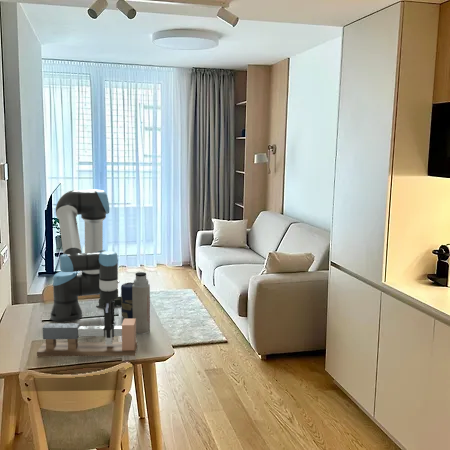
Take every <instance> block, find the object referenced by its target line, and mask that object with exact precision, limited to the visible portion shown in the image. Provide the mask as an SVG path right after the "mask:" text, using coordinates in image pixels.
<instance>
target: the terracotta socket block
mask: <svg viewBox="0 0 450 450" xmlns="http://www.w3.org/2000/svg"><path fill="white" fill-rule="evenodd" d="M121 326H122V336H121V342H122V350H134V349H135V345H136V342H137V334H136V318H135V319H126V318H123V320H122V324H121Z"/></svg>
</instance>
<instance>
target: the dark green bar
mask: <svg viewBox="0 0 450 450" xmlns="http://www.w3.org/2000/svg"><path fill="white" fill-rule="evenodd" d="M114 300H115V301H114V302H115V304H114V307H119V306H120V307H121V296H118V298H116V299H114ZM104 303H105V300H102V299H101V298H100V297H99V299H98V305H96V306H95V307H96V308H100V307H101V308H104Z"/></svg>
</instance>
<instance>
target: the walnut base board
mask: <svg viewBox="0 0 450 450" xmlns="http://www.w3.org/2000/svg"><path fill="white" fill-rule="evenodd" d="M78 339H79V338H78ZM78 339H67V342H66V341H65V342H64V341H63V342H59V341H57V339H45V342H43V343H41V346H40V347H39V348H38V350H37V351H36V357H37V356H38V358H39V357H40V358H41V357H43V358H44V357H45V358H47V357H53V358H54V357H55V358H56V357H135V356H136V354H137V350H138V344H139V343H138V341H136V345H135V349H134V350H122V341H112V345H106V343H105V341H81V342H80V341H79V340H78Z"/></svg>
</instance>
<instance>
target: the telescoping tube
mask: <svg viewBox="0 0 450 450" xmlns="http://www.w3.org/2000/svg"><path fill="white" fill-rule="evenodd" d="M111 328H112V337H114V338H115V337H122V325H116V324H115V325H112V326H111ZM103 329H104V325H80V326H79V327H78V328H77V331H78V336H79V337H103V338H105V330H103Z"/></svg>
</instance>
